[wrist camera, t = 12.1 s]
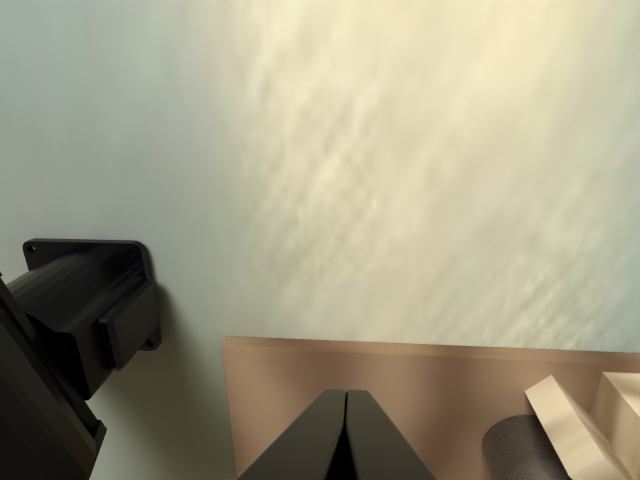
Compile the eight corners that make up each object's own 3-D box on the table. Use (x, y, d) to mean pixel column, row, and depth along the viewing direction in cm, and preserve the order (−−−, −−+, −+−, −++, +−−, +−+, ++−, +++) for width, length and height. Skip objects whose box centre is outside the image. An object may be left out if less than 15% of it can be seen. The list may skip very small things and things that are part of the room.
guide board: (242, 478, 27) (238, 492, 26) (226, 336, 23) (221, 346, 22) (612, 504, 25) (621, 521, 24) (663, 354, 21) (677, 366, 21)
